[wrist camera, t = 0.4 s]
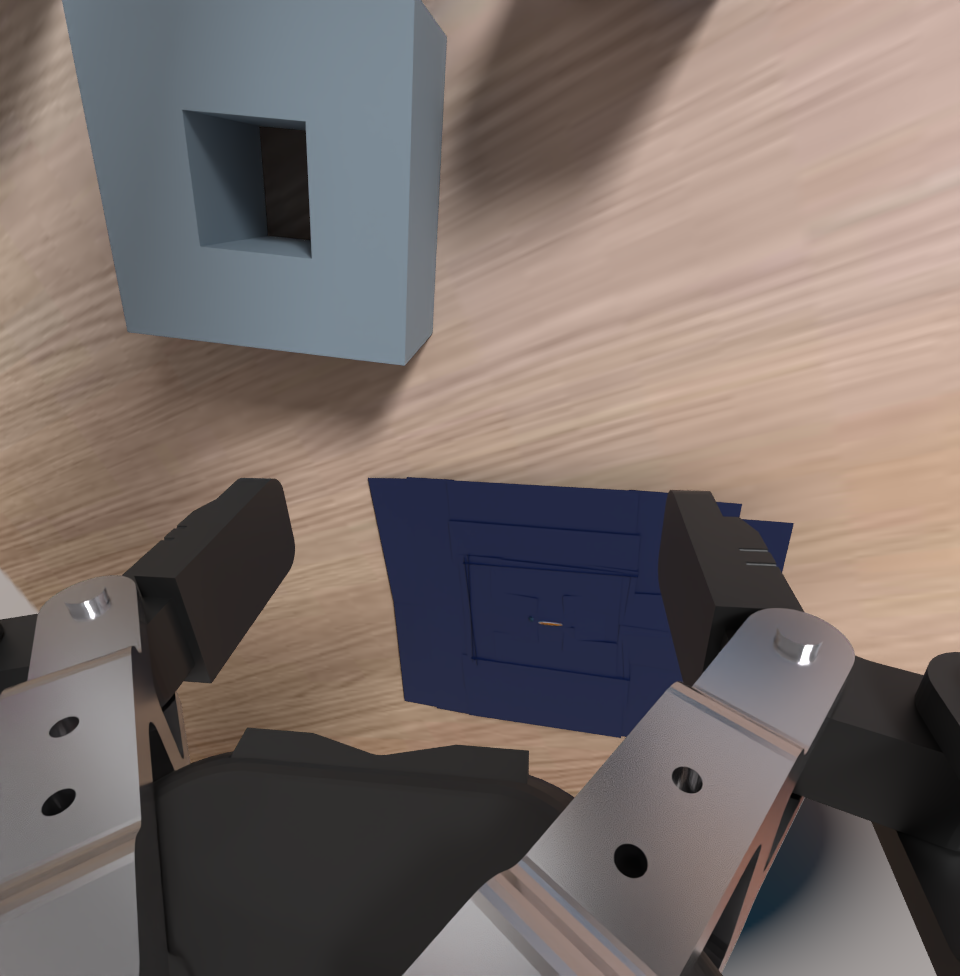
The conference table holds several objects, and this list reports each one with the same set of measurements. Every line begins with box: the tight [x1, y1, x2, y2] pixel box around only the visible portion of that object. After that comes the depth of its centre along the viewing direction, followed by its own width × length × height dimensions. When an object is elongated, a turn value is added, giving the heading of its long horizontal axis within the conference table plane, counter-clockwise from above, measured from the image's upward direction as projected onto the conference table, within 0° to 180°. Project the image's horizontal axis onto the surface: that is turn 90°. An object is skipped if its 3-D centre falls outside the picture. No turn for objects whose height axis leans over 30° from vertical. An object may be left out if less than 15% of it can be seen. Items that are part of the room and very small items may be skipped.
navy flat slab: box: [368, 477, 794, 738], centre depth 47 cm, size 24×30×4 cm
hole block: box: [62, 0, 447, 366], centre depth 32 cm, size 16×16×8 cm
